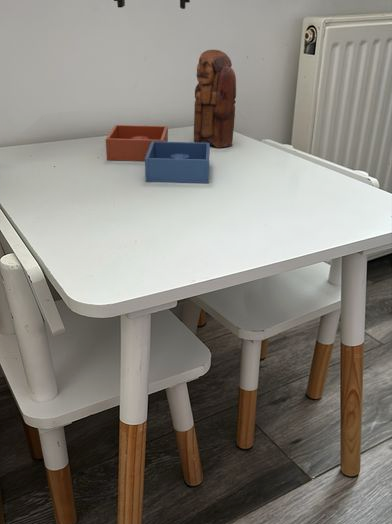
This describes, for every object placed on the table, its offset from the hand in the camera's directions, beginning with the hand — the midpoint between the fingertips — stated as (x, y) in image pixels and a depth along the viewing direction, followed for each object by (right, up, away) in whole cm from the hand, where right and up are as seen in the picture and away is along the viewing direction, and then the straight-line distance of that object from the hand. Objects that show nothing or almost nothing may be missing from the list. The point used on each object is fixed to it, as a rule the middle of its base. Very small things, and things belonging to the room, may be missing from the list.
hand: (152, 7), depth 87 cm
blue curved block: (+4, -20, +17) cm, 26 cm away
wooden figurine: (+10, -8, +36) cm, 38 cm away
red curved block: (-5, -12, +28) cm, 31 cm away
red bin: (-5, -13, +28) cm, 31 cm away
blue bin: (+4, -20, +17) cm, 27 cm away
